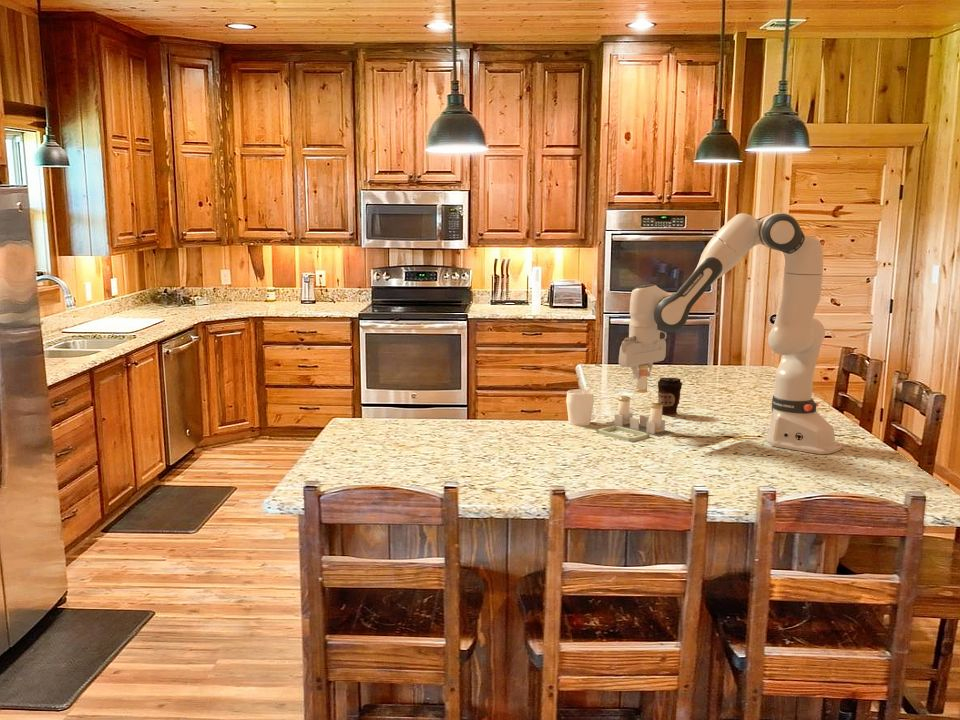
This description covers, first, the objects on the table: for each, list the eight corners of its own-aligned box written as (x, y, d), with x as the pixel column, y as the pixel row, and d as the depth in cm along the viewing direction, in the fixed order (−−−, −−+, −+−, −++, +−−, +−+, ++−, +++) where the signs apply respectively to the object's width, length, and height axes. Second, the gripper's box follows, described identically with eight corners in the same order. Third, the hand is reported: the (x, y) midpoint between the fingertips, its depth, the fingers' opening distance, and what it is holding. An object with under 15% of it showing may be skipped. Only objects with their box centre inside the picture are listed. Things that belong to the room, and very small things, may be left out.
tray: (649, 441, 269) (649, 433, 269) (631, 446, 263) (631, 438, 263) (614, 432, 280) (614, 425, 279) (596, 437, 274) (596, 429, 273)
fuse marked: (649, 391, 277) (650, 364, 276) (642, 393, 275) (643, 365, 273) (640, 389, 280) (640, 362, 279) (633, 391, 278) (633, 364, 276)
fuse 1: (631, 424, 284) (632, 397, 283) (624, 425, 282) (625, 399, 280) (622, 421, 287) (623, 395, 286) (615, 423, 285) (616, 397, 283)
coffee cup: (673, 418, 298) (675, 382, 296) (651, 415, 303) (653, 379, 300) (684, 414, 305) (686, 378, 302) (662, 410, 310) (664, 375, 307)
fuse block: (674, 436, 275) (675, 421, 274) (659, 441, 269) (659, 425, 269) (620, 423, 291) (620, 409, 290) (604, 427, 286) (605, 413, 285)
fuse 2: (663, 431, 275) (664, 404, 273) (656, 433, 273) (657, 406, 271) (654, 429, 278) (655, 402, 276) (647, 431, 275) (648, 404, 274)
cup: (561, 428, 284) (562, 393, 282) (571, 422, 292) (572, 388, 290) (587, 432, 280) (588, 396, 278) (596, 425, 288) (597, 390, 286)
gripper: (630, 339, 265) (629, 383, 268) (669, 333, 279) (668, 374, 281) (614, 337, 270) (613, 380, 272) (654, 331, 283) (652, 372, 286)
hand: (641, 377), depth 277 cm, fingers closed on fuse marked, 4 cm apart
